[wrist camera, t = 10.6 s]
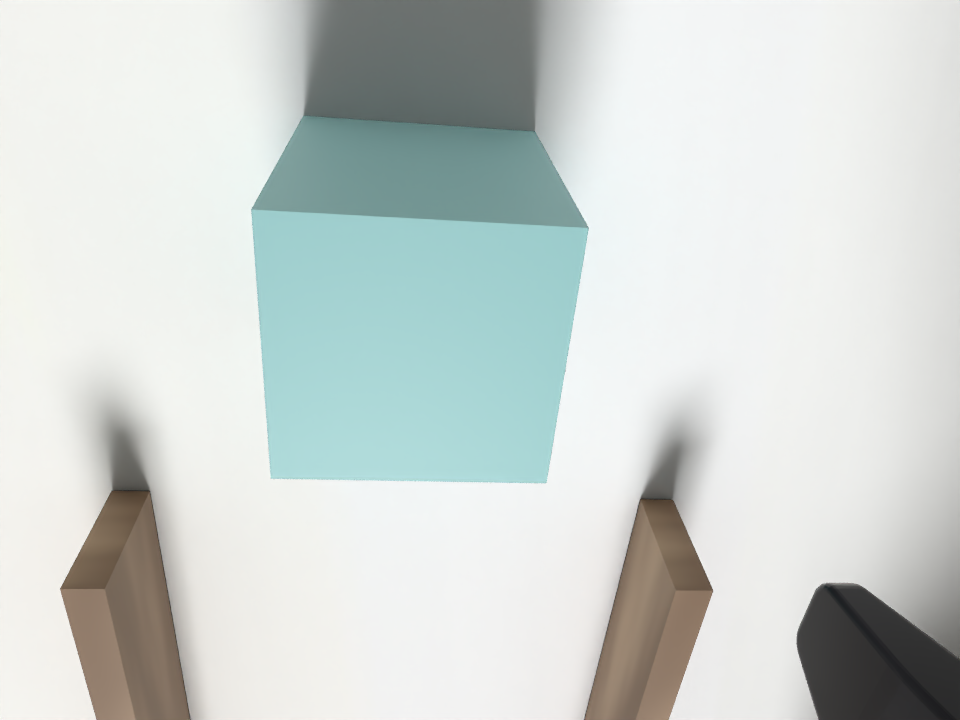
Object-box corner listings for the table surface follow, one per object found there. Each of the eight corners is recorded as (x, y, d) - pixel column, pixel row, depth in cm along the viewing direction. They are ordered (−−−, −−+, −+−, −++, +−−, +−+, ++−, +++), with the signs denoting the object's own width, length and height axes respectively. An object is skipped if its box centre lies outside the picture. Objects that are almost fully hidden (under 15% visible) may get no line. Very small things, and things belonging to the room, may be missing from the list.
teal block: (534, 130, 16) (589, 228, 11) (510, 329, 19) (546, 483, 14) (303, 115, 16) (251, 209, 11) (311, 322, 18) (270, 478, 13)
